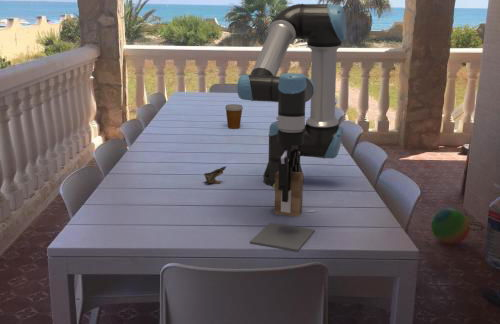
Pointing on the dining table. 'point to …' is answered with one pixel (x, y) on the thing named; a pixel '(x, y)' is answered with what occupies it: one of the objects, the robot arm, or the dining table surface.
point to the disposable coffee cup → (233, 115)
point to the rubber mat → (283, 236)
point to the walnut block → (296, 194)
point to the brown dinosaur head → (214, 175)
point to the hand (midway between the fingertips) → (288, 209)
